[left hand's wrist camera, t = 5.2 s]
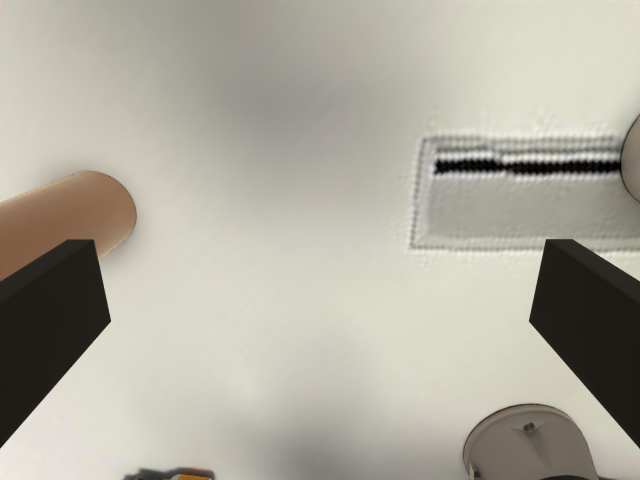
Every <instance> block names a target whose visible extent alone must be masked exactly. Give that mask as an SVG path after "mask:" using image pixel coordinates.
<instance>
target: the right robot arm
mask: <svg viewBox="0 0 640 480" xmlns="http://www.w3.org/2000/svg"><path fill="white" fill-rule="evenodd" d="M464 463H465V466H466V469H467V472H468V474H469V476H470V480H602V479H598V476H597V473H596V470H595V466H594V463H593V460H592V457H591V454H590V451H589V447H588V444H587V442H586V440H585V438H584V436H583V434H582V432H581V431H580V429H579V428H578V427H577V425H576V424H575V423H574V421H573V420H572V419H571V418H570V417H569V416H567V415H566V414H564V413H563V412H561V411H559V410H557V409H554V408H551V407H547V406H541V405H522V406H516V407H512V408H508V409H505V410H502V411H500V412H498V413H496V414H494V415H492V416H490V417H489V418H487V419H486V420H484V421H483V422H482V423H480V424H479V425H478V426H477V427H476V428H475V429H474V431H473V432H472V433H471V435H470V436H469V438H468V440H467V442H466V445H465V448H464Z"/></svg>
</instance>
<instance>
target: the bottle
mask: <svg viewBox="0 0 640 480" xmlns="http://www.w3.org/2000/svg"><path fill="white" fill-rule="evenodd" d="M135 223H136V209H135V205H134V202H133V200H132V198H131V196H130V194H129V193H128V191H127V190H126V189H125V188H124V187H123V186H122V185H121V184H120V183H119V182H118V181H116V180H115V179H113V178H111V177H110V176H107V175H105V174H102V173H99V172H92V171H85V172H79V173H76V174H73V175H71V176H68V177H66V178H63V179H60V180H58V181H55V182H52V183H50V184H47V185H44V186H42V187H39V188H36V189H34V190H31V191H28V192H26V193H23V194H20V195H18V196H15V197H13V198H10V199H7V200H5V201H2V202H0V281H2V280H3V279H5V278H6V277H8V276H10V275H11V274H13V273H14V272H16V271H18V270H19V269H21V268H22V267H24V266H26V265H27V264H29V263H30V262H32V261H34V260H35V259H37V258H38V257H40V256H42V255H43V254H45V253H46V252H48V251H50V250H51V249H53V248H54V247H56V246H58V245H59V244H61V243H62V242H64V241H66V240H67V239H94V242H95V247H96V251H97V256H98V261H100V260H101V259H102V258H103V257H104V256H106V255H107V254H108V253H109V252H111V251H112V250H113V249H114V248H116V247H117V246H118V245H119V244H120V243H122V242H123V241H124V240H125V239H127V238H128V237H129V235H130V234H131V233H132V231H133V229H134V226H135Z"/></svg>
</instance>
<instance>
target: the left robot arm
mask: <svg viewBox="0 0 640 480" xmlns="http://www.w3.org/2000/svg"><path fill="white" fill-rule="evenodd" d="M110 322H111V318H110V314H109V309H108V304H107V299H106V294H105V290H104V285H103V280H102V275H101V271H100V266H99V261H98V256H97V251H96V247H95V242H94V239H67V240H66V241H64V242H62V243H61V244H59V245H58V246H56V247H54V248H53V249H51V250H50V251H48V252H46V253H45V254H43V255H42V256H40V257H38V258H37V259H35V260H34V261H32V262H30V263H29V264H27V265H26V266H24V267H22V268H21V269H19V270H18V271H16V272H14V273H13V274H11V275H10V276H8V277H6V278H5V279H3V280H2V281H0V448H1V447H2V446H3V445H4V444H5V443H6V441H7V440H8V439H9V438H10V437H11V436H12V434H13V433H14V432H15V431H16V430H17V429H18V428H19V426H20V425H21V424H22V423H23V422H24V421H25V420H26V418H27V417H28V416H29V415H30V414H31V413H32V412H33V410H34V409H35V408H36V407H37V406H38V405H39V403H40V402H41V401H42V400H43V399H44V398H45V397H46V395H47V394H48V393H49V392H50V391H51V390H52V389H53V387H54V386H55V385H56V384H57V383H58V382H59V381H60V379H61V378H62V377H63V376H64V375H65V374H66V372H67V371H68V370H69V369H70V368H71V367H72V366H73V364H74V363H75V362H76V361H77V360H78V359H79V358H80V356H81V355H82V354H83V353H84V352H85V351H86V350H87V348H88V347H89V346H90V345H91V344H92V343H93V341H94V340H95V339H96V338H97V337H98V336H99V335H100V333H101V332H102V331H103V330H104V329H105V328H106V327H107V325H108V324H109V323H110ZM529 322H530V323H531V324H532V325H533V327H534V328H535V329H536V330H537V331H538V332H539V333H540V335H541V336H542V337H543V338H544V339H545V340H546V341H547V343H548V344H549V345H550V346H551V347H552V348H553V350H554V351H555V352H556V353H557V354H558V355H559V356H560V358H561V359H562V360H563V361H564V362H565V363H566V364H567V366H568V367H569V368H570V369H571V370H572V371H573V372H574V374H575V375H576V376H577V377H578V378H579V379H580V381H581V382H582V383H583V384H584V385H585V386H586V387H587V389H588V390H589V391H590V392H591V393H592V394H593V395H594V397H595V398H596V399H597V400H598V401H599V402H600V404H601V405H602V406H603V407H604V408H605V409H606V410H607V412H608V413H609V414H610V415H611V416H612V417H613V418H614V420H615V421H616V422H617V423H618V424H619V425H620V426H621V428H622V429H623V430H624V431H625V432H626V433H627V435H628V436H629V437H630V438H631V439H632V440H633V441H634V443H635V444H636V445H637V446H638V447H639V448H640V281H638V280H637V279H635V278H634V277H632V276H630V275H629V274H627V273H626V272H624V271H622V270H621V269H619V268H618V267H616V266H614V265H613V264H611V263H610V262H608V261H606V260H605V259H603V258H602V257H600V256H598V255H597V254H595V253H594V252H592V251H590V250H589V249H587V248H586V247H584V246H582V245H581V244H579V243H578V242H576V241H574V240H573V239H546V242H545V247H544V251H543V256H542V261H541V266H540V271H539V275H538V280H537V285H536V290H535V294H534V299H533V304H532V309H531V314H530V318H529Z"/></svg>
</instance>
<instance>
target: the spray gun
mask: <svg viewBox="0 0 640 480" xmlns="http://www.w3.org/2000/svg"><path fill="white" fill-rule="evenodd" d="M134 480H141V479H139V478H135V479H134ZM165 480H212V479H211V478H208V477H200V476H192V475H184V474H179V475H175V476H174V477H172V478H171V479H170V478H166V479H165Z"/></svg>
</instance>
